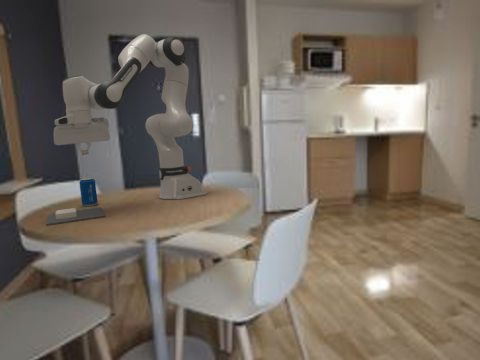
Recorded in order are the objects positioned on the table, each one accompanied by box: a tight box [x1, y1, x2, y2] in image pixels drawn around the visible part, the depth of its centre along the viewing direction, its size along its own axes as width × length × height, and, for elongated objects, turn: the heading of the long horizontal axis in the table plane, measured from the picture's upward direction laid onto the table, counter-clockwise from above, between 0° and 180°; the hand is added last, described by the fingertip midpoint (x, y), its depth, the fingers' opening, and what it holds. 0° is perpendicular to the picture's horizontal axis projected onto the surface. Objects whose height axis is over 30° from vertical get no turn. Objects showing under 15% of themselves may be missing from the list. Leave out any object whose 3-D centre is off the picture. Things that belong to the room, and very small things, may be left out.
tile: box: [55, 207, 77, 220], centre depth 140 cm, size 2×8×7 cm
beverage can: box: [78, 177, 98, 207], centre depth 161 cm, size 6×6×12 cm
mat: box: [46, 206, 107, 226], centre depth 141 cm, size 20×18×1 cm
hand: (85, 154), depth 142 cm, fingers closed
